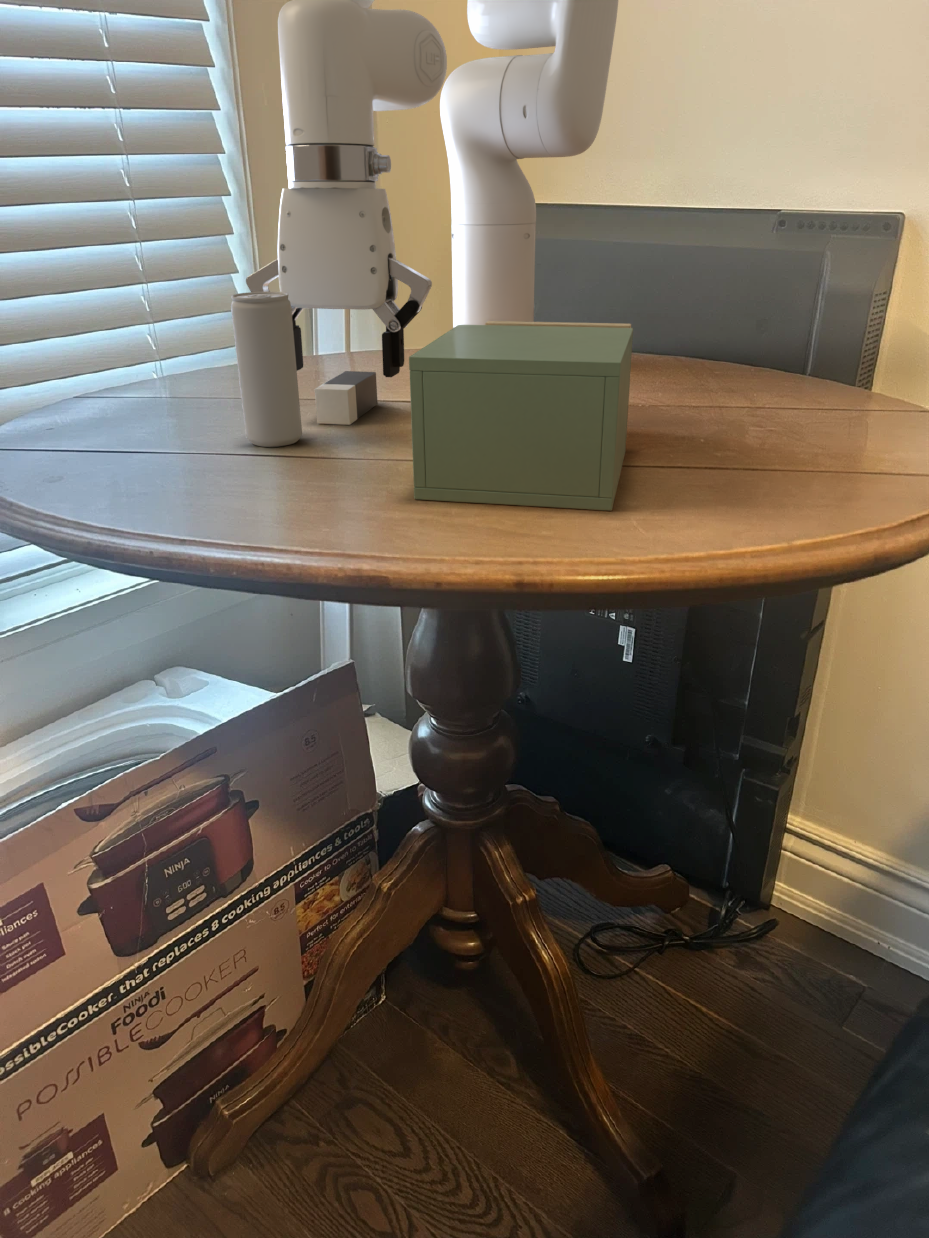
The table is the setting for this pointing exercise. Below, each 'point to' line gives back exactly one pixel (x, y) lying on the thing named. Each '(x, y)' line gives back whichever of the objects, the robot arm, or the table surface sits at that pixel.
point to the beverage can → (267, 367)
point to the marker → (346, 397)
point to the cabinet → (521, 415)
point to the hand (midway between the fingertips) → (342, 373)
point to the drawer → (559, 324)
